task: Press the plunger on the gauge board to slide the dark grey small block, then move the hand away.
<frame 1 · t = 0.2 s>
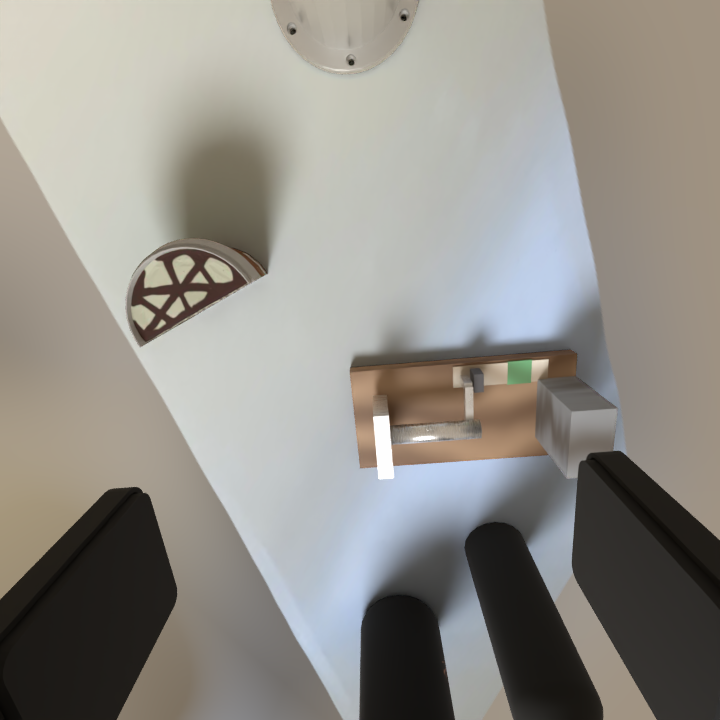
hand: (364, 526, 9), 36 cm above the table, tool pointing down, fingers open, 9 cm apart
gauge board: (460, 408, 48), on the table
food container: (214, 268, 44), on the table
wine bottle: (493, 545, 54), on the table
coffee jar: (399, 619, 59), on the table
plunger: (426, 425, 43), point 5 cm above the table, slide at 0.0 cm
dark grey small block: (476, 380, 44), point 3 cm above the table, slide at 0.0 cm
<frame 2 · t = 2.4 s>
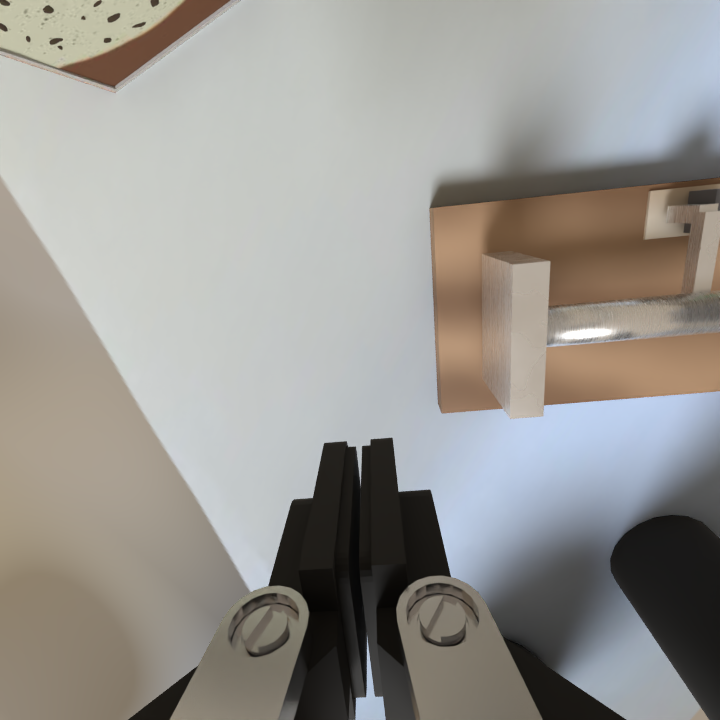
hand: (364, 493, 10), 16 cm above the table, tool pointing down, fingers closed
gauge board: (638, 294, 25), on the table
wine bottle: (660, 555, 31), on the table
plunger: (606, 306, 20), point 5 cm above the table, slide at 0.0 cm
dark grey small block: (710, 211, 20), point 3 cm above the table, slide at 0.0 cm
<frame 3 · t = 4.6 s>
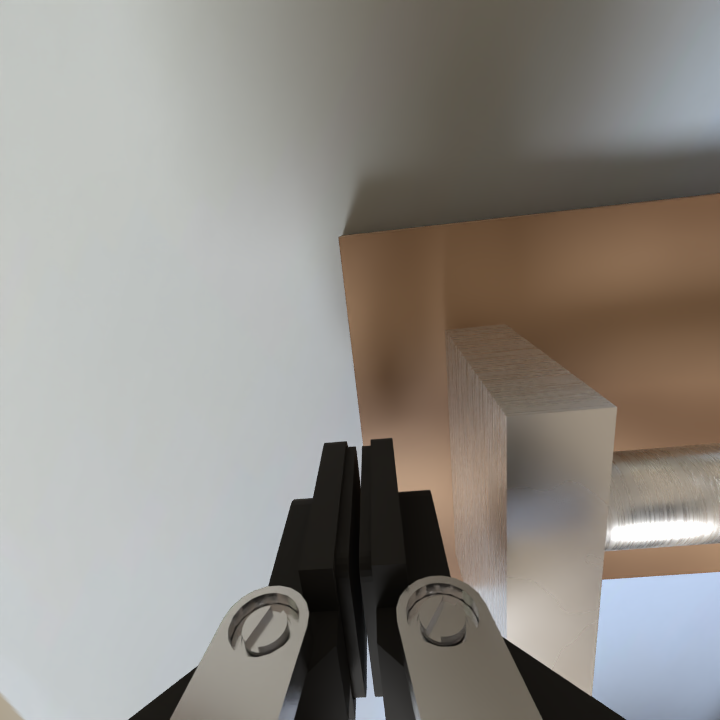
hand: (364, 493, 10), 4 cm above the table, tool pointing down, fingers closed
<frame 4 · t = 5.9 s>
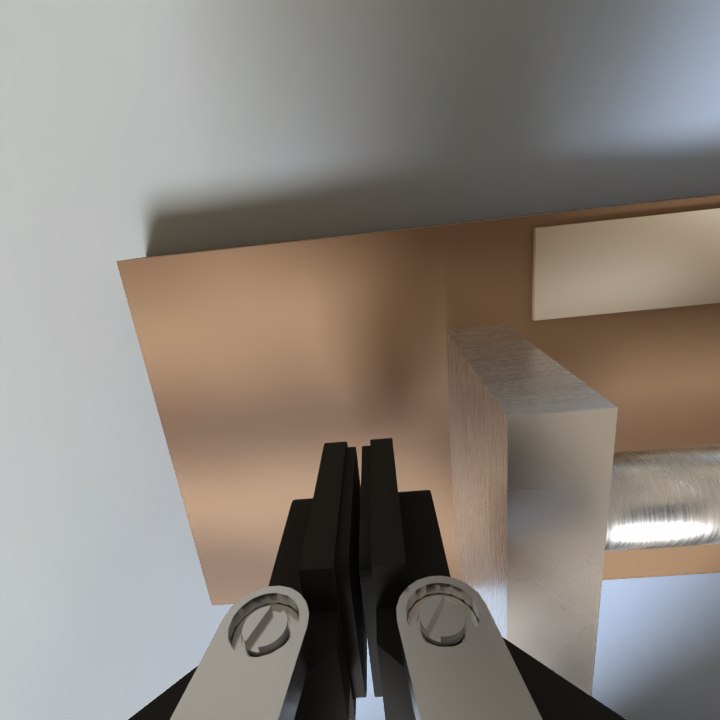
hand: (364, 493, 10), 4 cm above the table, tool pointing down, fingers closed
gauge board: (543, 403, 14), on the table
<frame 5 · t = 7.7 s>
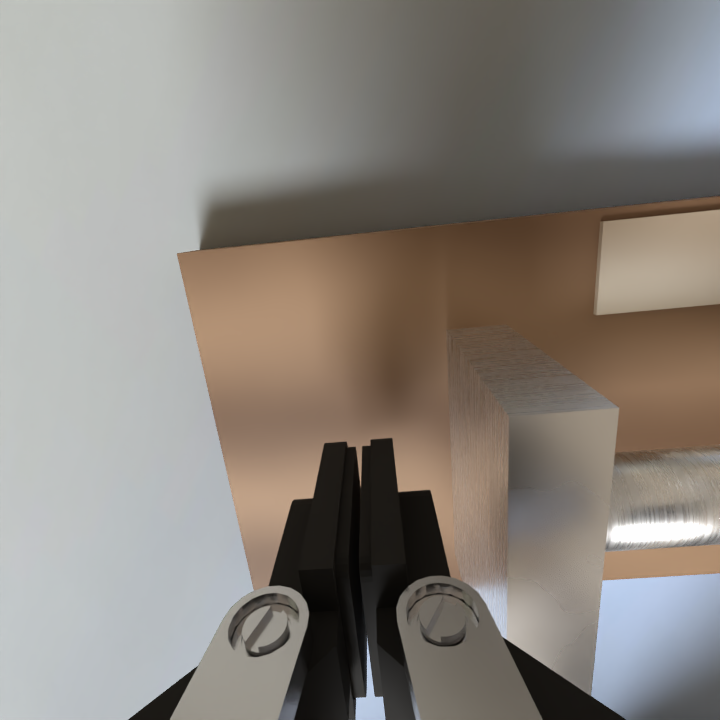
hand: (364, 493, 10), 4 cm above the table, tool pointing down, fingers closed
gauge board: (594, 400, 14), on the table
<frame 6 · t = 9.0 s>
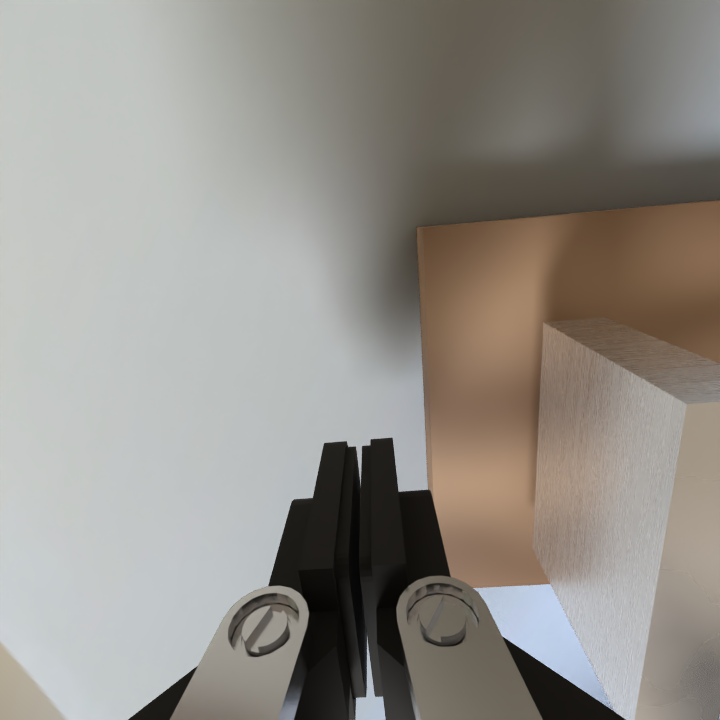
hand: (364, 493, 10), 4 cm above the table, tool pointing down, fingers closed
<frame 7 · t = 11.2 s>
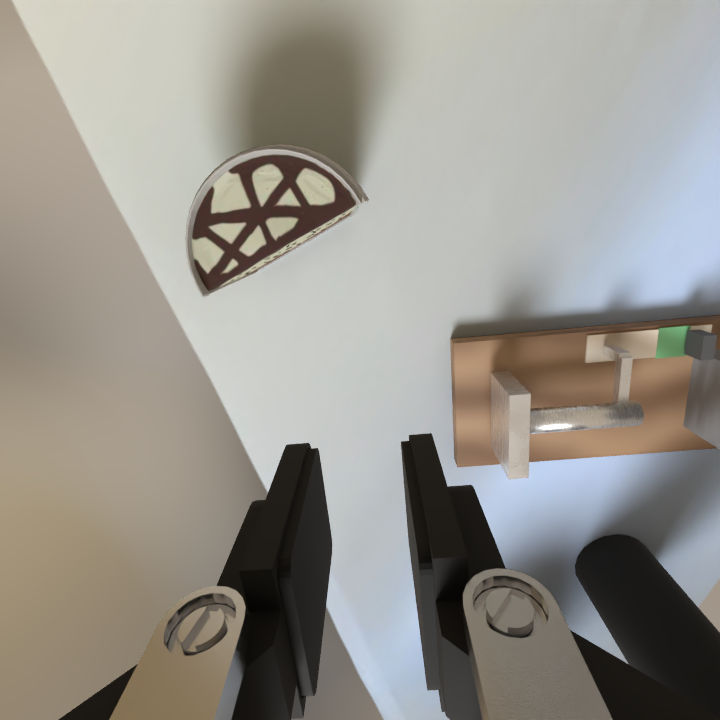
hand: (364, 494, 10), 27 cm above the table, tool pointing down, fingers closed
gauge board: (585, 390, 38), on the table
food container: (284, 209, 34), on the table
wine bottle: (610, 562, 44), on the table
plunger: (566, 409, 33), point 5 cm above the table, slide at 0.5 cm
dark grey small block: (700, 344, 34), point 3 cm above the table, slide at 6.1 cm
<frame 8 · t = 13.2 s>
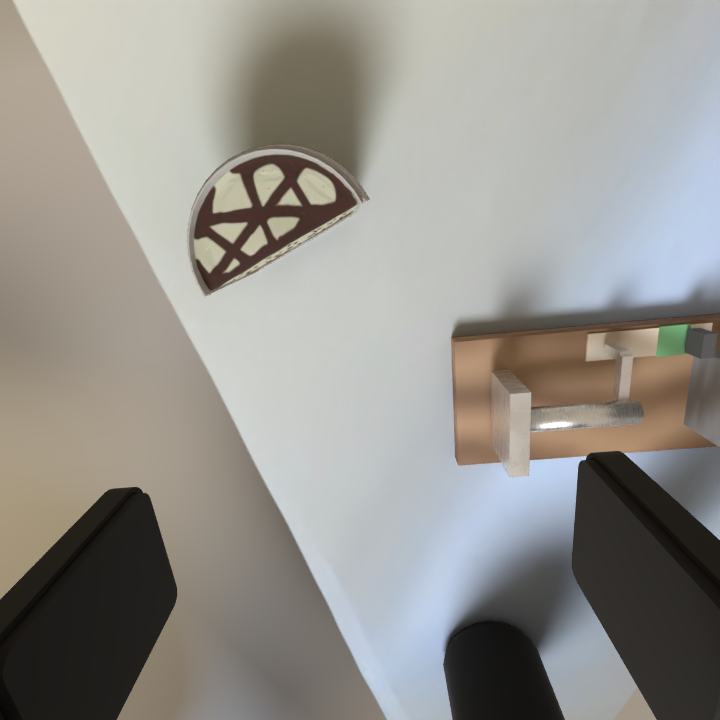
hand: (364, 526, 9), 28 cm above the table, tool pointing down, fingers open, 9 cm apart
gauge board: (586, 389, 38), on the table
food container: (285, 209, 34), on the table
coffee jar: (487, 650, 49), on the table
plunger: (567, 407, 34), point 5 cm above the table, slide at 0.5 cm
dark grey small block: (700, 343, 34), point 3 cm above the table, slide at 6.1 cm
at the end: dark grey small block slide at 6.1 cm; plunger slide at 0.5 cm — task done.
